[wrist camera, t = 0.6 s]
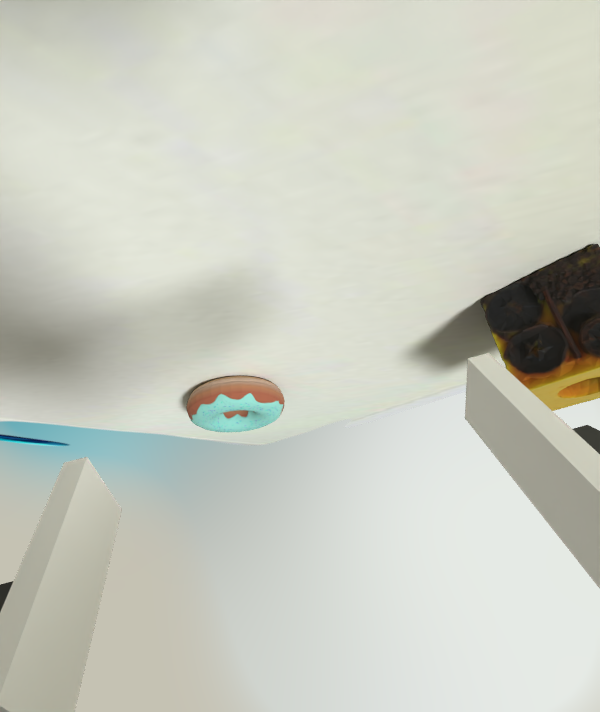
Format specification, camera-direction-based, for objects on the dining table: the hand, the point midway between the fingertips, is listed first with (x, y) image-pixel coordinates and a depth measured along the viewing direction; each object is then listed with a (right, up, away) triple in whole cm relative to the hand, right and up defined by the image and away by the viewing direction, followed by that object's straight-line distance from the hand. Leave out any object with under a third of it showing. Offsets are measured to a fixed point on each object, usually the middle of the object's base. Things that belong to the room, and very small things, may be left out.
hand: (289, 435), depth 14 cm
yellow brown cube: (+24, +9, +26) cm, 36 cm away
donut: (-8, -1, +38) cm, 39 cm away
